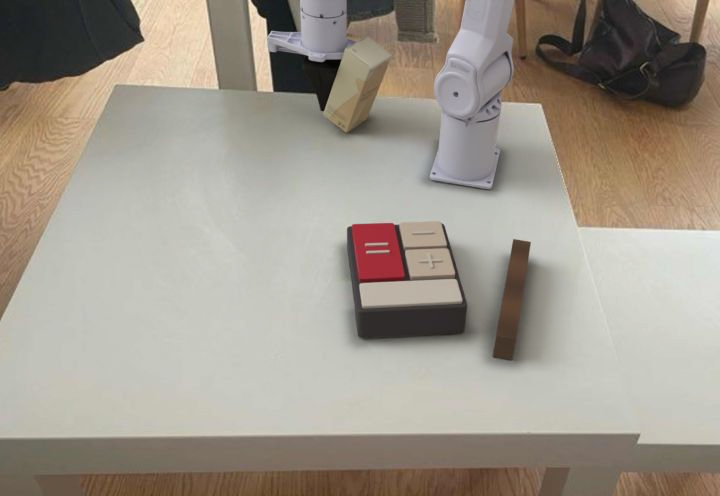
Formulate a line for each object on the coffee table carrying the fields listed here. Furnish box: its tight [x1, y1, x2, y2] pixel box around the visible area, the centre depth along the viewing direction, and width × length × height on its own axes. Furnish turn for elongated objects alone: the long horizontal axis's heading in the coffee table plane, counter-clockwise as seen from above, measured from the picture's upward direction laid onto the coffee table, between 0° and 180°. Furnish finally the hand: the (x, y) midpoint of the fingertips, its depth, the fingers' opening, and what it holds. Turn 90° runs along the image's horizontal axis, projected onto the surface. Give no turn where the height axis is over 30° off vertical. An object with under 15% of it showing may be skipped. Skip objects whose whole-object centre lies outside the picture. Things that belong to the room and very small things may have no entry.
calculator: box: [346, 220, 468, 339], centre depth 87 cm, size 11×4×15 cm
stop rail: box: [492, 238, 532, 361], centre depth 87 cm, size 16×2×3 cm, turn 171°
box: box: [322, 36, 393, 133], centre depth 107 cm, size 5×4×11 cm
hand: (325, 108), depth 111 cm, fingers closed
